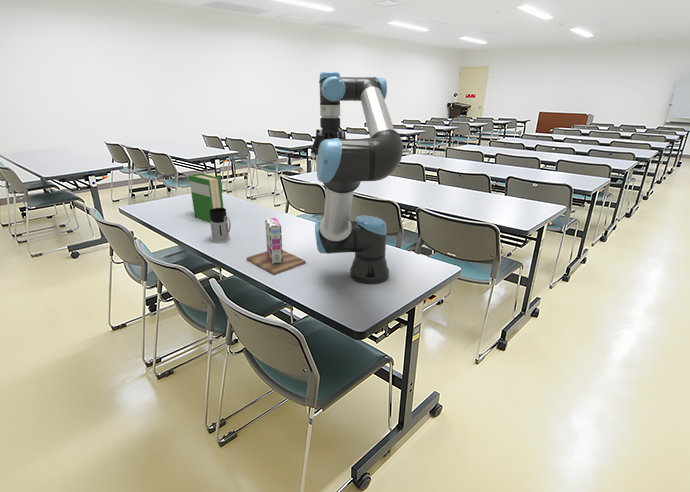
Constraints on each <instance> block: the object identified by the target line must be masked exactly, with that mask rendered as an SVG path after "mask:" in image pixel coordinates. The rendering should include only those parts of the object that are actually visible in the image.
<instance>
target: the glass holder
mask: <svg viewBox="0 0 690 492" xmlns="http://www.w3.org/2000/svg"><path fill="white" fill-rule="evenodd" d="M209 213H210V228H211V229H210V230H211V231H210V232H211V237H212V238H211V243H215V244H223V243H228V242H230V241H231V236H230V231H231V219H230V216H228V215H227V209H226V208H213V209H210V210H209Z"/></svg>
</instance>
